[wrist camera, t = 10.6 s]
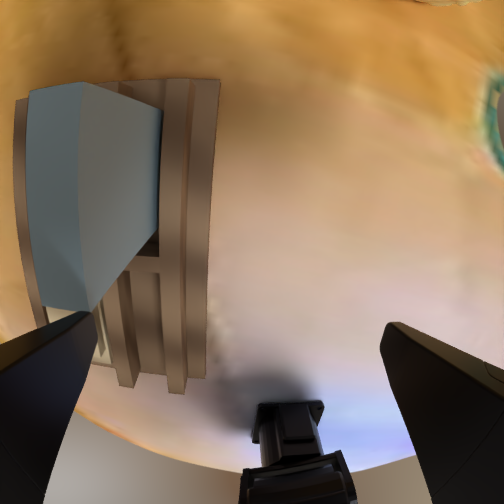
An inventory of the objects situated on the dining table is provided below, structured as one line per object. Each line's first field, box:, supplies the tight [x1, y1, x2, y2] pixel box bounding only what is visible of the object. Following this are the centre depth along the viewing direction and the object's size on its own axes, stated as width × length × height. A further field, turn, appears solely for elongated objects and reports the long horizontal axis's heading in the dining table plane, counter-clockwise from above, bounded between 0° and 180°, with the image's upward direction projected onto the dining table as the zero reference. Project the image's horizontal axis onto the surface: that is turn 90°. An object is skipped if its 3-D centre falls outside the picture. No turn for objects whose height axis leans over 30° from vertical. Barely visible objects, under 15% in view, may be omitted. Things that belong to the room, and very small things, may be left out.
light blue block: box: [26, 81, 164, 312], centre depth 13 cm, size 7×2×11 cm, turn 175°
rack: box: [13, 78, 221, 395], centre depth 19 cm, size 22×14×4 cm, turn 175°
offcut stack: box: [46, 298, 114, 365], centre depth 20 cm, size 10×4×2 cm, turn 175°
